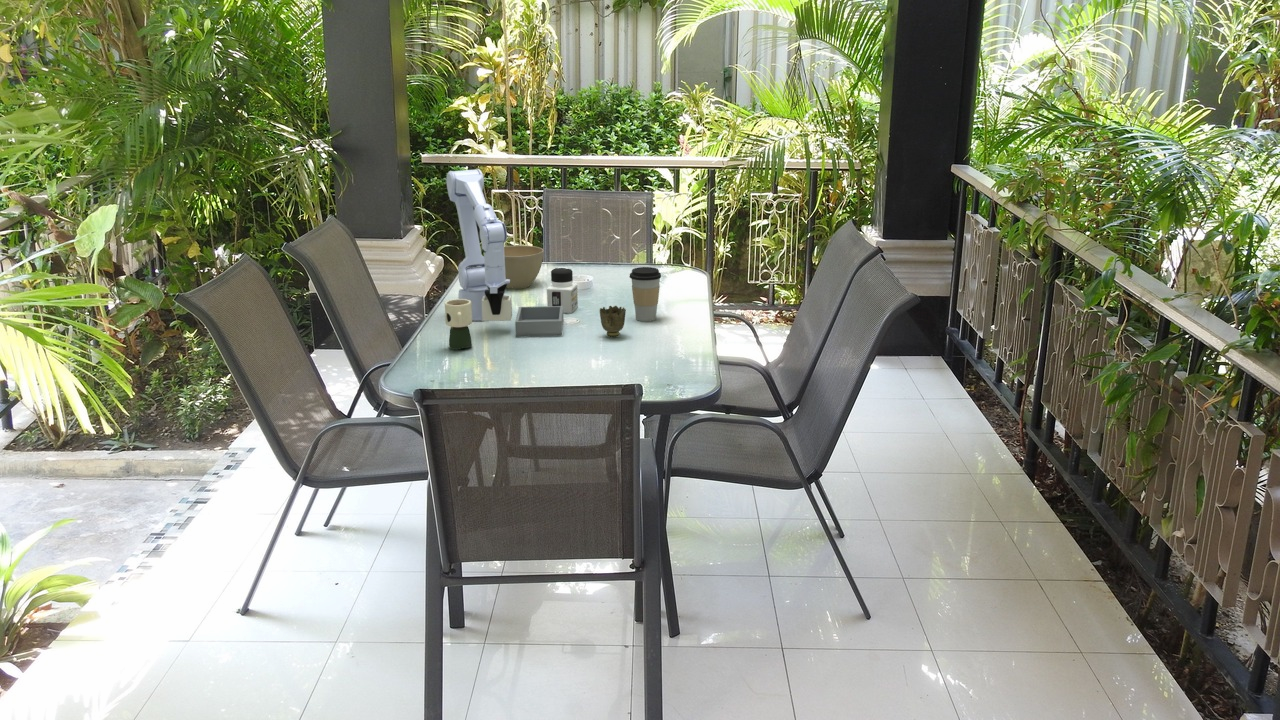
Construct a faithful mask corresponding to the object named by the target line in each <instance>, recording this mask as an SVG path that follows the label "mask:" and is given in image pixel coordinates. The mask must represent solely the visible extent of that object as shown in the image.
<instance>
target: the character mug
mask: <svg viewBox="0 0 1280 720" xmlns="http://www.w3.org/2000/svg"><path fill="white" fill-rule="evenodd" d="M444 317H445V324H446V326H448V327H450V329H449V338H448V346H449V347H448V348H450V349H454V350H459V349H460V350H463V349H464V348H470V347H472V346H473V343H472V336H471V333H470V332H471V331H470V328H469V326H470V325H472V324H473V321H472V309H471V301H470V300H467V299H458V298H454V299H448V300H446V301H444Z"/></svg>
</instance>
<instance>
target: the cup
mask: <svg viewBox="0 0 1280 720" xmlns="http://www.w3.org/2000/svg"><path fill="white" fill-rule="evenodd" d="M626 313H627V309H626V308H625V307H624V306H623V307H622V306H617V305H614V306H612V305H609V306H608V308H606V307H604V306H603V307H599V317H600V323H601V326H602V328H603V330H604V331H605V332H606V335H607V337H608V338H617V337H619V336H620V331H622V329H623V328H624V326H625V322H626Z"/></svg>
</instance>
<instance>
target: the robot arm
mask: <svg viewBox="0 0 1280 720" xmlns="http://www.w3.org/2000/svg"><path fill="white" fill-rule="evenodd" d="M484 185H485V180H484V174H483V171H482V170H481V169H480V168H476V169H467V170H466V169H465V170H463V169H462V170H449V171H448V172H447V174H446V188H447V189H446V190H447V195H448V197H449V200H450V202H453V203H455V208H456V210H457V217H458V221H459V222H458V223H459V227H460V233H461V239H462V244H463V250H464V254H465V255H464V256H465V257H464V258H463V260H461V262H460V263H458V267H457V270H458V282H459V285H460V287H461V288H462V289H459V290H458V294H457V295H458V297H457V299H467V300H470V301H471V309H472V322H474V321H475V322H478V321H479V322H480V321H482V322H484V321H483V319H482V298H483V296H486V297H487V299H488V301H489V304H490V308H491V312H492V314H493V315H500V311H501V303H502V298H503V296H505V292H506V288H507V287H506V286H507V283H510V279H506V276H505V256H504V247H505V243H506V242H507V240H508V233H507V232H508V231H507V227H506V224H505V222H504V221H501V219H498V217H497V215H496V213H495V210H494V208H493V206H492V205H491V204H490V203H487V201H486V198H485V195H484V192H483V189H484ZM477 226H478V228H479V232H478V228H477ZM480 241H481V242H480ZM480 243H481V244H480ZM482 250H483V255H482Z"/></svg>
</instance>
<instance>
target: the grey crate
mask: <svg viewBox="0 0 1280 720" xmlns="http://www.w3.org/2000/svg"><path fill="white" fill-rule="evenodd" d="M514 323H515V324H514V326H515V338H535V337H536V338H537V337H563V330H564V313H563V306H547V305H545V306H543V305H542V306H519V307H518V309H517V313H516V317H515V322H514Z"/></svg>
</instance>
